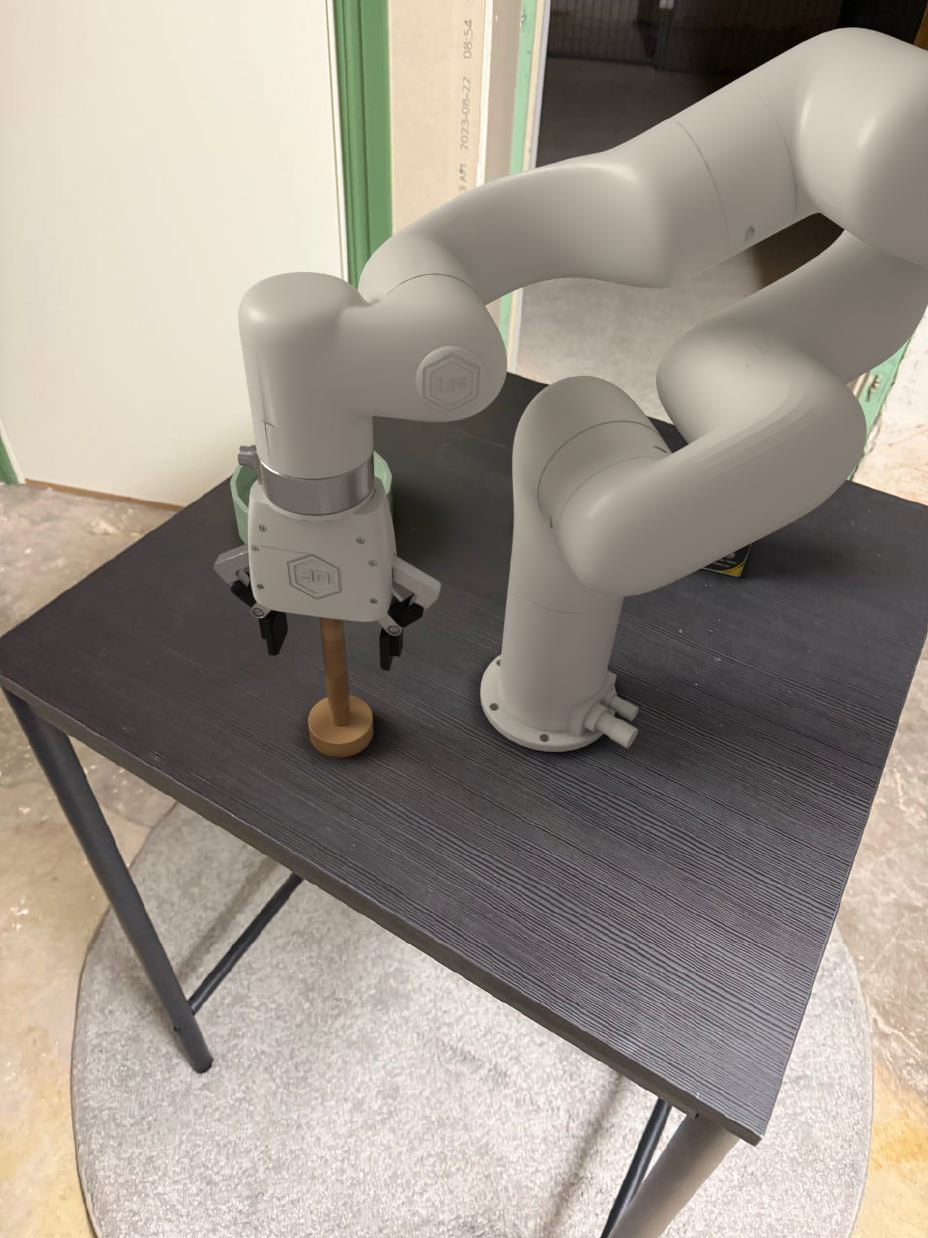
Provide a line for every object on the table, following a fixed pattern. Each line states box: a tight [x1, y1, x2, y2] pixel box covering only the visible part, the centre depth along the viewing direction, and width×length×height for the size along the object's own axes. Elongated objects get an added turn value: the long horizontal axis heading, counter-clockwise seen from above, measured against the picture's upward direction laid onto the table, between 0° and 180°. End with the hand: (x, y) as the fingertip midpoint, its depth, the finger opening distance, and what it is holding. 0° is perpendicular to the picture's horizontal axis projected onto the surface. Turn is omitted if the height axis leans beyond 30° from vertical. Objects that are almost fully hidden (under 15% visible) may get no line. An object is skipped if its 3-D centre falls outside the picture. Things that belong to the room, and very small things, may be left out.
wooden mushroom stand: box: [307, 617, 374, 759], centre depth 72 cm, size 6×6×15 cm
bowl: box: [229, 450, 394, 545], centre depth 96 cm, size 17×17×6 cm
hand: (333, 650), depth 70 cm, fingers open, 8 cm apart
